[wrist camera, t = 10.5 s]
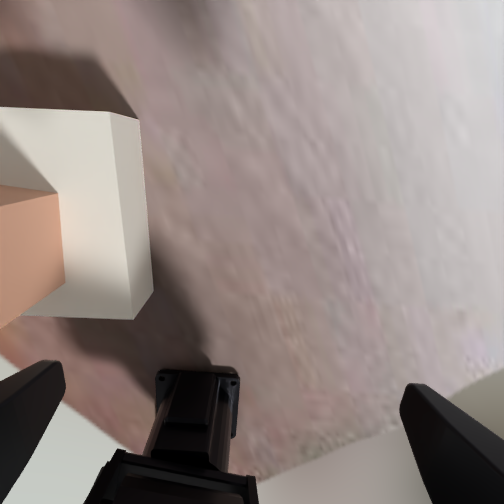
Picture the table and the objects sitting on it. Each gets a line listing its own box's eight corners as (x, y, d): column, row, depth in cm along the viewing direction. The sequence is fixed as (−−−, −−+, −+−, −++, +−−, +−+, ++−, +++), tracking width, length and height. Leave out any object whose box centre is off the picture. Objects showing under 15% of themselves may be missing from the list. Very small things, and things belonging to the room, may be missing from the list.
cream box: (155, 288, 20) (133, 319, 17) (1, 282, 20) (-56, 312, 17) (142, 120, 17) (109, 111, 13) (-47, 112, 17) (-135, 100, 13)
